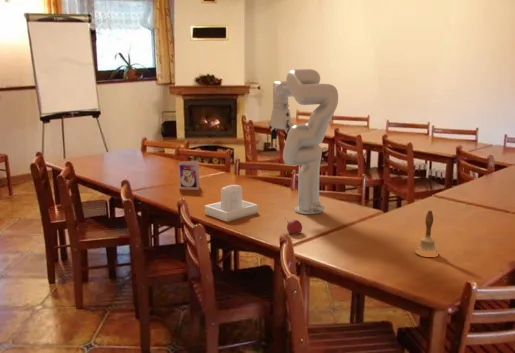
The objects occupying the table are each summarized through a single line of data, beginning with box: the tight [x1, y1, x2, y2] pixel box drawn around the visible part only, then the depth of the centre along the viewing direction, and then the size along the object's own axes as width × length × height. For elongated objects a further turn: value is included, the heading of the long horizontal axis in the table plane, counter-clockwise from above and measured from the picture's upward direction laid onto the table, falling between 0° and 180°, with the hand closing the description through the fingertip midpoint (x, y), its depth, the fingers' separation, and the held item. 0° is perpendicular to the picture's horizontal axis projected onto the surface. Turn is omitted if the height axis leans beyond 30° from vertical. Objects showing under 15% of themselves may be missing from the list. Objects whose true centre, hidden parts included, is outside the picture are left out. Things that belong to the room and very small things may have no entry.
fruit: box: [284, 218, 303, 235], centre depth 206 cm, size 6×6×8 cm
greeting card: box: [177, 160, 201, 191], centre depth 278 cm, size 11×7×15 cm, turn 76°
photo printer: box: [220, 184, 243, 212], centre depth 231 cm, size 10×4×12 cm, turn 126°
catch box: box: [204, 199, 259, 222], centre depth 232 cm, size 16×18×4 cm
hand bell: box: [417, 210, 437, 252], centre depth 180 cm, size 8×8×16 cm
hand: (280, 140), depth 258 cm, fingers open, 9 cm apart
